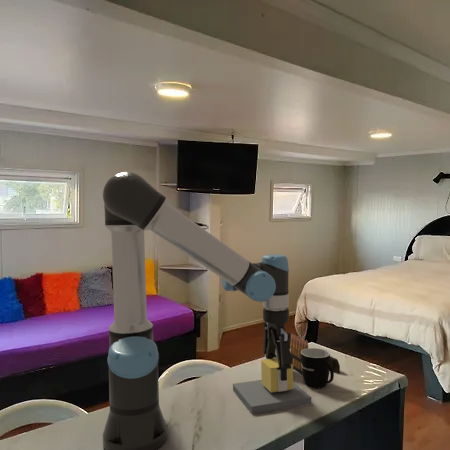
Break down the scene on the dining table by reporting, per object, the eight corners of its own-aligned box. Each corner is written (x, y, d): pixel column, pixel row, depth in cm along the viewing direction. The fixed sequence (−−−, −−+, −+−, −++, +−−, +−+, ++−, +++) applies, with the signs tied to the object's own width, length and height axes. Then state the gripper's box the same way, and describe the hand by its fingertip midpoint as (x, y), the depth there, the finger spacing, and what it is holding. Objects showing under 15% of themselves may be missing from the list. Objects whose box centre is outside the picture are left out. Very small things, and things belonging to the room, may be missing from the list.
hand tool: (297, 358, 159) (296, 346, 158) (305, 356, 161) (305, 344, 160) (333, 376, 142) (333, 362, 142) (342, 373, 144) (342, 360, 144)
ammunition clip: (310, 376, 141) (310, 340, 141) (305, 377, 141) (305, 341, 140) (293, 365, 151) (293, 331, 151) (289, 366, 151) (288, 332, 150)
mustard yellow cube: (270, 392, 123) (270, 368, 122) (261, 383, 129) (261, 360, 129) (293, 388, 125) (292, 365, 125) (283, 379, 132) (282, 357, 131)
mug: (295, 382, 136) (294, 351, 136) (316, 376, 141) (316, 346, 141) (321, 396, 126) (321, 362, 126) (343, 389, 131) (343, 356, 130)
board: (251, 414, 116) (251, 390, 116) (232, 390, 132) (232, 369, 131) (311, 404, 122) (311, 381, 121) (286, 382, 137) (286, 362, 137)
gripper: (303, 314, 118) (304, 397, 119) (273, 299, 137) (274, 371, 138) (278, 317, 116) (279, 401, 116) (251, 301, 135) (252, 374, 136)
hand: (276, 385), depth 127 cm, fingers closed on mustard yellow cube, 7 cm apart
